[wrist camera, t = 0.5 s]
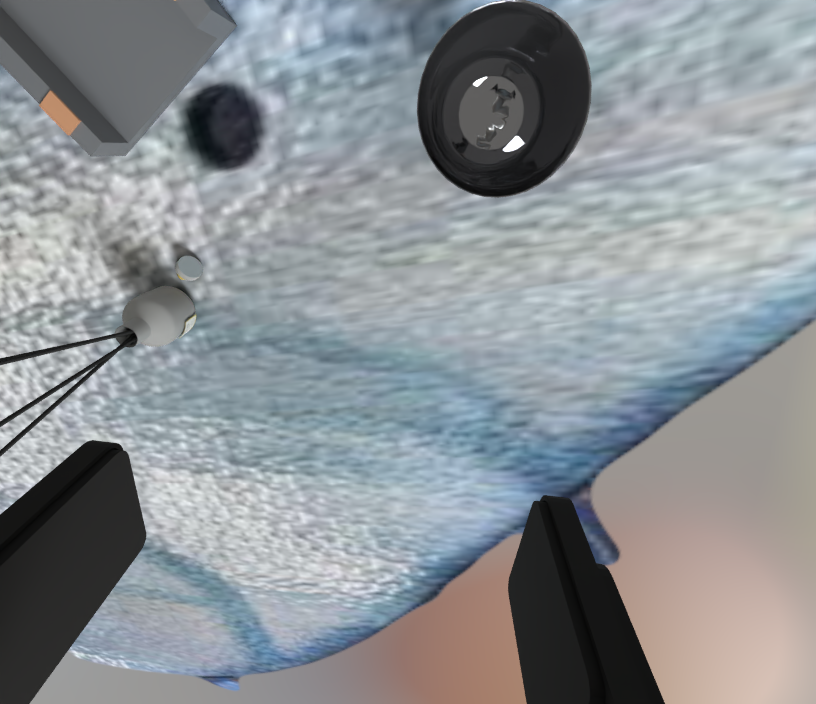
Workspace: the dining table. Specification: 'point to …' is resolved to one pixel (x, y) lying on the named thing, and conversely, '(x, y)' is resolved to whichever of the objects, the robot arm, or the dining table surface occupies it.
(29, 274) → the dining table surface
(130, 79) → the bay
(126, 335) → the reed diffuser
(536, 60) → the wine glass
